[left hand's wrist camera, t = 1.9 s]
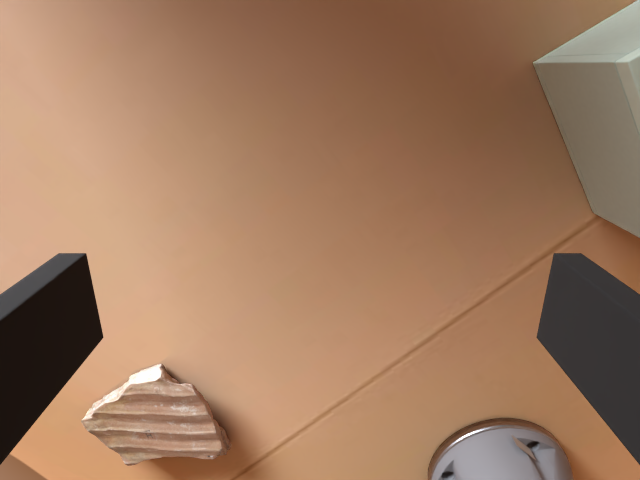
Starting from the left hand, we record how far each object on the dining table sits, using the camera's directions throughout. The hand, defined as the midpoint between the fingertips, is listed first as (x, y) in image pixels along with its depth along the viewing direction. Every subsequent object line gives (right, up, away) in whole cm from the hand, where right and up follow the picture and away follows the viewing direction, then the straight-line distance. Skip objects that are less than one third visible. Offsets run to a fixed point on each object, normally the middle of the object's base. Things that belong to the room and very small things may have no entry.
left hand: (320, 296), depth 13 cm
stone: (-16, -17, +35) cm, 42 cm away
